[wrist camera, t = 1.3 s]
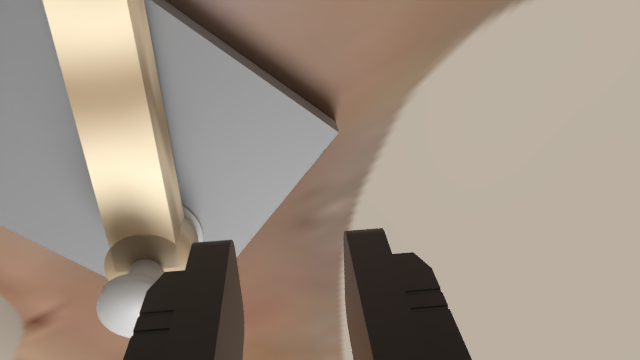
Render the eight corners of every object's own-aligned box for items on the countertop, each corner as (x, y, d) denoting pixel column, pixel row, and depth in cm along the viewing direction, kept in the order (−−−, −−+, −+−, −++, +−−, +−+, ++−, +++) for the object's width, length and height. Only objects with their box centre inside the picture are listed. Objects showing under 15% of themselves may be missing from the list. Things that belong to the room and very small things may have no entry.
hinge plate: (-277, 63, 23) (-493, 120, 17) (-182, -246, 19) (-424, -330, 12) (190, 300, 31) (168, 402, 25) (335, 121, 27) (354, 188, 20)
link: (203, 269, 28) (197, 299, 26) (127, 274, 28) (114, 306, 26) (135, -119, 20) (117, -123, 18) (26, -114, 20) (-5, -118, 17)
